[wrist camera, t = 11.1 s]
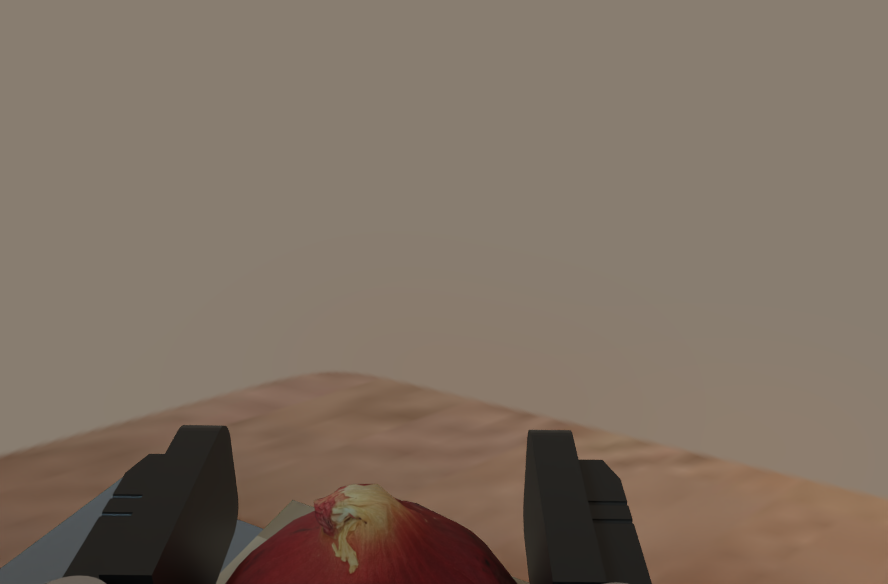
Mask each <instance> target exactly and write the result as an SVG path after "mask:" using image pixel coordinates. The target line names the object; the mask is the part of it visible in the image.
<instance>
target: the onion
mask: <svg viewBox="0 0 888 584" xmlns="http://www.w3.org/2000/svg"><path fill="white" fill-rule="evenodd" d="M314 508H315V511H313V512H311V513H308V514H306V515H304V516H301V517H299V518H297V519H295V520H293V521H292V522H290V523H289V524H287V525H286V526H285V527H283V528H282V529H281V530H279V531H278V532H277V533H276V534H274V535H273V536H272V537H270V538H269V539H268V540H266V541H265V542H264V543H262V544H261V545H260V546H258V547H257V548H256V549H255V550H253V551H252V552H251V553H250V554H249V555H248V556H247V557H246V558H245V559H244V560H243V561H242V562H241V563H240V564H239V565H238V567H237V568H236V569H235V571H234V572H233V574H232V575H231V576H230V578H229V579H228V581H227V582H226V583H225V584H517V582H516V581H515V580H514V579H513V577H512V576H511V575H510V574H509V572H508V571H507V570H506V569H505V568H504V566H503V565H502V564H501V563H500V561H499V560H498V559H497V558H496V556H495V555H494V554H493V553H492V551H491V550H490V549H489V548H488V546H487V545H486V544H485V543H484V542H483V541H482V540H481V539H480V538H479V537H477V536H476V535H475V534H474V533H473V532H472V531H470V530H468V529H467V528H465V527H463V526H462V525H460V524H458V523H456V522H454V521H452V520H450V519H448V518H446V517H444V516H442V515H440V514H438V513H436V512H433V511H431V510H429V509H427V508H425V507H423V506H421V505H419V504H417V503H413V502H408V501H401V500H398V499H396V498H394V497H392V496H391V495H390V494H389V493H387V492H386V491H385V490H384V489H383V488H382V487H380V486H379V485H378V484H353V485H349V486H344V487H340V488H339V489H338V490H337V491H336V492H334V493H333V494H331V495H329V496H327V497H324V498H321V499H317V500H314Z"/></svg>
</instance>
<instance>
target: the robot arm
mask: <svg viewBox="0 0 888 584" xmlns="http://www.w3.org/2000/svg"><path fill="white" fill-rule="evenodd" d="M237 516H238V494H237V486H236V478H235V470H234V462H233V455H232V447H231V439H230V433H229V430H228V428H227V427H226V426H204V425H183V426H181V427H180V428H179V430H178V432H177V433H176V435H175V437H174V439H173V441H172V442H171V444H170V446H169V448H168V450H167V451H166V453H165V454H148V455H147V456H146V457H145V458H143V459H142V460H141V461H140V462H138V463H137V464H136V465H135V466H133V467H132V468H131V469H130V470H128V471H127V472H126V473H125V475H124V476H123V478H122V480H121V481H120V483H119V485H118V486H117V488H116V489H115V491H114V493H113V497H112V499H111V498H110V499H109V501H108V503H107V504H106V506H105V508H104V509H103V511H102V516H99V518H98V519H97V521H96V522H95V524H94V526H93V527H92V529H91V531H90V532H89V534H88V536H87V537H86V539H85V541H84V542H83V544H82V546H81V547H80V549H79V551H78V552H77V554H76V555H75V557H74V559H73V560H72V562H71V564H70V565H69V567H68V569H67V570H66V572H65V574H64V575H63V577H62V578H59V579H56V580H53V581H50V582H48V583H45V584H216V582H217V580H218V577H219V574H220V571H221V569H222V566H223V563H224V560H225V558H226V555H227V552H228V549H229V547H230V544H231V541H232V538H233V536H234V533H235V529H236V524H237ZM523 519H524V538H525V547H526V556H527V565H528V574H529V583H530V584H652V583H651V579H650V576H649V573H648V569H647V566H646V563H645V560H644V556H643V553H642V550H641V546H640V543H639V540H638V536H637V533H636V530H635V526H634V524H633V523H632V516H631V513H630V510H629V506H627V500H626V496H625V493H624V490H623V486H622V483H621V480H620V478H619V477H618V476H617V475H616V474H615V473H614V472H613V471H612V470H611V469H610V468H609V467H608V466H607V464H606V463H605V462H604V461H603V460H578V456H577V452H576V447H575V443H574V439H573V435H572V432H571V430H529V431H528V437H527V453H526V470H525V487H524V507H523Z"/></svg>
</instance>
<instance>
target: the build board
mask: <svg viewBox="0 0 888 584" xmlns="http://www.w3.org/2000/svg"><path fill="white" fill-rule="evenodd" d="M122 478H123V477H122ZM122 478H121V479H120V480H118V481H117V482H116V483H114V484H113V485H112V486H110V487H109V488H108V489H106V490H105V491H104V492H102V493H101V494H100V495H98V496H97V497H96V498H94V499H93V500H92V501H90V502H89V503H88V504H86V505H85V506H84V507H82V508H81V509H80V510H78V511H77V512H76V513H74V514H73V515H72V516H70V517H69V518H68V519H66V520H65V521H63V522H62V523H61V524H59V525H58V526H57V527H55V528H54V529H53V530H51V531H50V532H49V533H47V534H46V535H45V536H43V537H42V538H41V539H39V540H38V541H37V542H35V543H34V544H33V545H31V546H30V547H29V548H27V549H26V550H25V551H23V552H22V553H21V554H19V555H18V556H17V557H15V558H14V559H13V560H11V561H10V562H9V563H7V564H6V565H4V566H3V567H2V568H0V584H45V583H48V582H50V581H53V580H56V579H59V578H62V577H63V575H64V574H65V572H66V570H67V569H68V567H69V565H70V564H71V562H72V560H73V559H74V557H75V555H76V554H77V552H78V551H79V549H80V547H81V546H82V544H83V542H84V541H85V539H86V537H87V536H88V534H89V532H90V531H91V529H92V527H93V526H94V524H95V522H96V521H97V519H98V518H99V516H102V511H103V509H104V508H105V506H106V504H107V503H108V501H109V499H110V498H111V499H112V497H113V493H114V491H115V489H116V488H117V486H118V485H119V483H120V481H121V480H122ZM262 530H263V529H262V528H259V527H257V526H254V525H251V524H249V523H246V522H243V521H241V520H238V519H237V524H236V529H235V533H234V536H233V538H232V541H231V544H230V547H229V549H228V552H227V555H226V558H225V560H224V563H223V566H222V569H221V571H220V573H221V572H222V571H223V570H224V569H225V568H226V567H227V566H228V565H229V564H230V563H231V562H232V561H233V560H234V559H235V558H236V557H237V556H238V555H239V554H240V553H241V552H242V551H243V550H244V549H245V548H246V547H247V546H248V544H249V543H250V542H251V541H252V540H253V539H254V538H255V537H256V536H257V535H258V534H259V533H260V532H261V531H262Z"/></svg>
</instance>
